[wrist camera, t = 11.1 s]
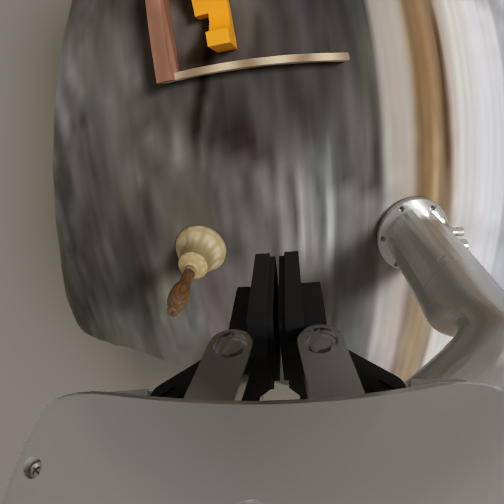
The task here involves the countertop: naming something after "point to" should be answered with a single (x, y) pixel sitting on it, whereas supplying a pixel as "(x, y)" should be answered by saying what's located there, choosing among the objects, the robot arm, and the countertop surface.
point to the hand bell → (194, 262)
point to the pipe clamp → (217, 23)
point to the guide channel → (169, 67)
